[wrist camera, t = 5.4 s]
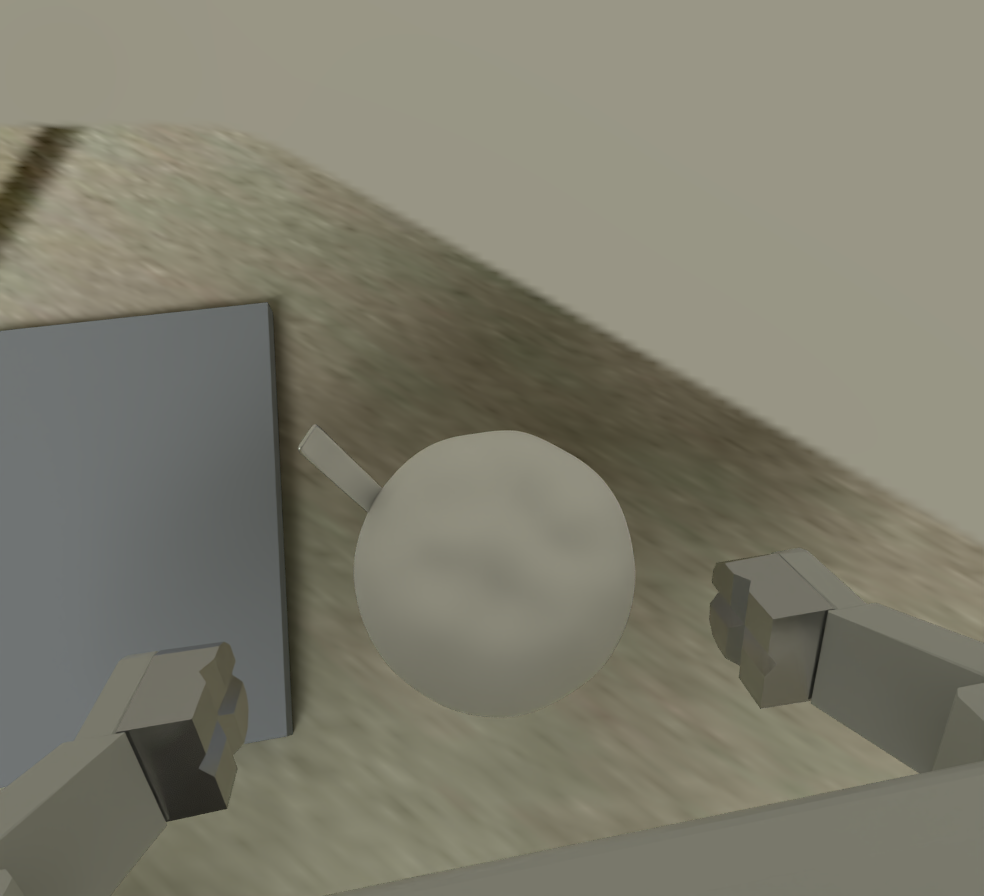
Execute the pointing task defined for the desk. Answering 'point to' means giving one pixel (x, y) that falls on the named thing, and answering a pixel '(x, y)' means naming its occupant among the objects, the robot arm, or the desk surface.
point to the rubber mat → (137, 514)
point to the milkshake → (488, 568)
